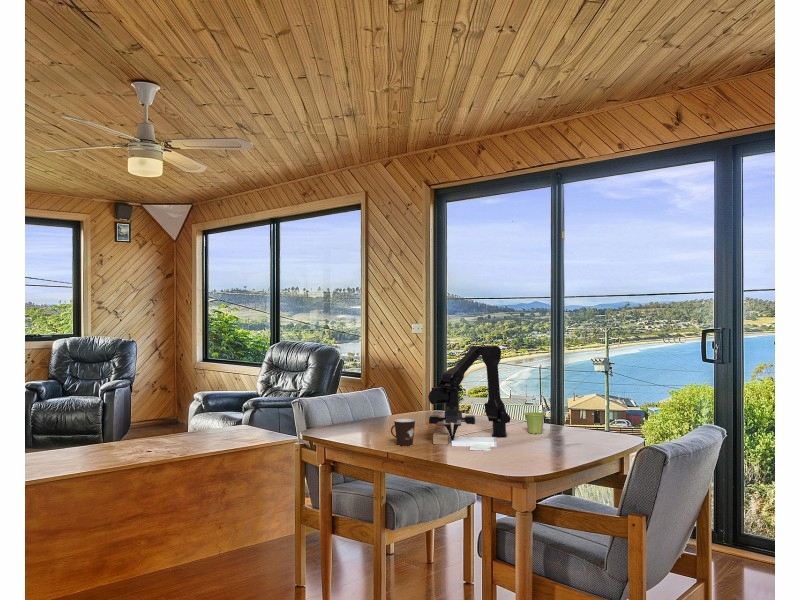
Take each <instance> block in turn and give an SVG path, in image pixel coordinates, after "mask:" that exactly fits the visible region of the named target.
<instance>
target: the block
mask: <svg viewBox="0 0 800 600" xmlns="http://www.w3.org/2000/svg"><path fill="white" fill-rule="evenodd" d="M449 438H450V435H449V432H433V435H432V440H433V442H432V444H443V445H442V446H447V445H449V441H450V440H449ZM446 444H447V445H446Z"/></svg>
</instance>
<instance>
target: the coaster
mask: <svg viewBox="0 0 800 600" xmlns="http://www.w3.org/2000/svg"><path fill="white" fill-rule="evenodd" d="M491 448H492V447H491V445H470V446H469V451H470V450H483V451H482V452H491V450H492V449H491Z"/></svg>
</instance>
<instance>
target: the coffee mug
mask: <svg viewBox="0 0 800 600" xmlns="http://www.w3.org/2000/svg"><path fill="white" fill-rule="evenodd" d="M393 423H394V424H393V425H392V426H391V428H390V433H391V435H392V436H393V437H394V438H395V439H396V445H400V446H399V447H402V446H407V447H411V446H410V445H412V446H413V445H414V436H415V426H416V425H415V424H416V420H415V419H413V418H398V419H394V422H393ZM393 429H394V431H395V434H394V431H393Z"/></svg>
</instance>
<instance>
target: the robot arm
mask: <svg viewBox="0 0 800 600" xmlns="http://www.w3.org/2000/svg"><path fill="white" fill-rule="evenodd" d="M479 357H481V358H482V361H483V363H484V365H485V366H486V376H487V377H486V378H487V389H488V390H487V392H488V399H487V402H484V413H485V415H486V417H487V419H488V422H492V433H491V437H496V438H507V437H508V434H507V424H508V423H510V422H511V416H510V415H509V414H508V412H507V411H506V406H505V403H504V402H503V400H502V399H501V391H500V390H501V389H500V378H499V377H500V376H499V363H500V362H501V359H502V351H501V348H500V347H499V346H498V345H484V346H482V345H472V346H471V347H470V349H469V350H468V351H467V352H466V353H465V355H463V357H462V358H461V359H460V360H459V361H458V362H457V364H456V365H455V366H453V367H451V368H449V369H448V370H446V371H445V372H443V374H442V376H441V379H440V381H439V383H438V385H437V387H433V386H432V387H431V390H430V391H429V393H428V402H429V403H430V404H431V405H433V406H434V405H441V404H444V416H440V414H437V415H436V414H431V415H430V416H429V417H428V424H431V425H433V424H435V425H437V424H438V423H440V422H441V423H442V426H444V427H445V428H446V429H447V433H448V435H449V438H450V439H451V440H450V441H451V442H452V441H453V440H454V437H456V432H457V430H458V427H461V426H462V423H465V424H467V425H476V417H475V415H474V414H473V415H470V414H469V415H468V414H467V415H465V416H464V417H463V411H462V410H460V402H459V401H460V398H459V397H460V395H459V392H463V391H464V389H463V388H462V387H461V386H460V384H461V383H462V382H463V380H464V378H465V374H466V372H467V371H468V370H469V369H470V368H471V367H472V365H473V364H474V363H475V362H476V361H477V360H478V359H479ZM452 423H453V428H452Z"/></svg>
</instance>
